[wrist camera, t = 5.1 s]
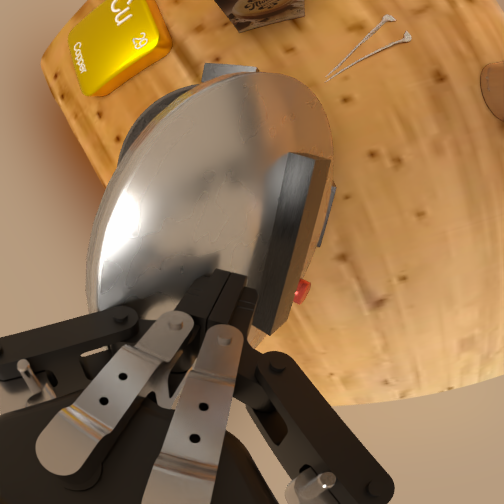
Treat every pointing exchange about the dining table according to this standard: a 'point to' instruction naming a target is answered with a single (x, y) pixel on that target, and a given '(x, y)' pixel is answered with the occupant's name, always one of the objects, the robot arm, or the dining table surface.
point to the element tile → (117, 44)
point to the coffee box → (260, 12)
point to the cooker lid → (217, 200)
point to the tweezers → (386, 18)
